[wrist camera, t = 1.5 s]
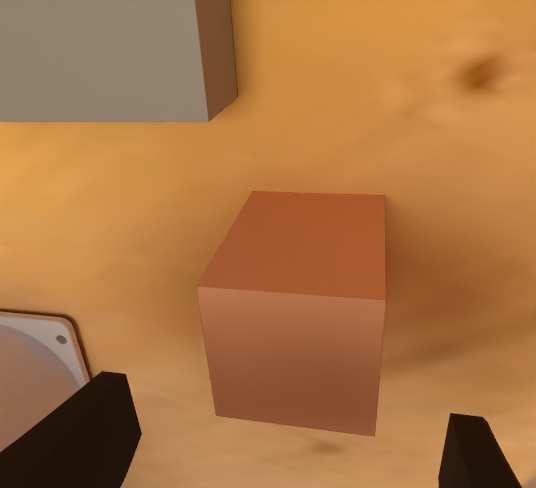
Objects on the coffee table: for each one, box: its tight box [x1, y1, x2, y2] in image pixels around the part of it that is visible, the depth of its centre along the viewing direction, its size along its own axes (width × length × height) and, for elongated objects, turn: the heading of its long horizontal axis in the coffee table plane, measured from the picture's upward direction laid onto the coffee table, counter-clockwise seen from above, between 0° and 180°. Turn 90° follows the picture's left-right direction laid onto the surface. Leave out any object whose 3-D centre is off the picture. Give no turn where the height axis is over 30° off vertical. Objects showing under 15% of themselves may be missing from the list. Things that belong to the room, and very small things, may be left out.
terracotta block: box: [196, 191, 386, 437], centre depth 15 cm, size 4×4×6 cm
